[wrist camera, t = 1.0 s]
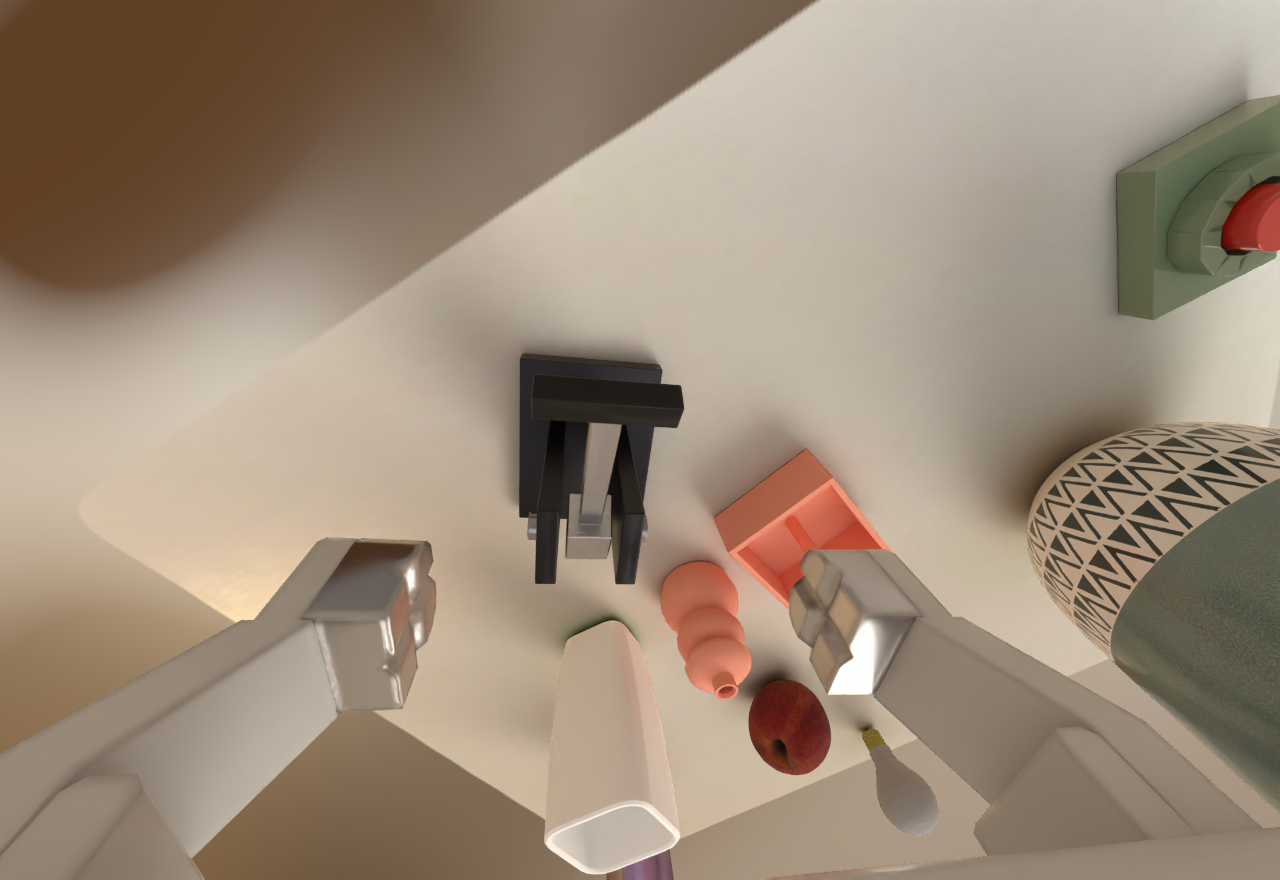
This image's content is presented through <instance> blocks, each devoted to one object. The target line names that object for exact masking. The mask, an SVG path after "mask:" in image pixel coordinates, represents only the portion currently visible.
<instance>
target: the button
mask: <svg viewBox="0 0 1280 880" xmlns="http://www.w3.org/2000/svg"><path fill="white" fill-rule="evenodd" d="M1221 244H1222V246H1223V247H1225V248H1226V249H1229V250H1237V251H1255V252H1274V251H1278V250H1280V182H1267V183H1263V184H1260V185H1257V186H1255V187H1253V188H1251V189H1250V190H1248V191H1247V192H1246V193H1245V194H1244V195H1243V196H1242V197H1241V198H1240V200H1239V201H1238V202H1237V203H1236V204H1235V205H1234V206H1233V208H1232V210H1231V212H1230V214H1229V215H1228V217H1227V219H1226V221H1225V223H1224V225H1223V227H1222V234H1221Z"/></svg>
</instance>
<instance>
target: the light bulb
mask: <svg viewBox="0 0 1280 880" xmlns="http://www.w3.org/2000/svg"><path fill="white" fill-rule="evenodd" d="M862 738H863V740H864V742H865V743H866V746H867V748H868V750H869V752H870V756H871V757H872V759H873V761H874V763H875V766H876V777H877V797H878V800H879V803H880V806H881V808H882V810H883V812H884V814H885V816H886V817H887V818H888V819H889V821H890V822H891V823H892V824H893V825H894V826H895V827H896V828H898V829H899V830H901V831H902V832H904V833H906V834H909V835H913V836H920V835H925V834H928V833H929V832H930V831H932V830H933V829H934V828H935V826H936V824H937V822H938V817H939V809H938V804H937V801H936V797H935V795H934V793H933V792H932V790H931V788H930V787H929V785H928V784H927V783H926V782H925V781H924V779H923V778H922V777H920V776H919V775H918V774H917V773H915V772H914V771H913V770H911V769H910V768H908V767H907V766H905V765H904V764H903V763H901V762H900V761H899V760H897V759H896V757H895V756H894V755H893V754H892V752H891V750H890V748H889V746H887V745H886V743H885V742H884V740H883V739H882V737H881V735H880V733H879V732H878V731H877V730H875V729H866V730H865V732H864V733H863V735H862Z"/></svg>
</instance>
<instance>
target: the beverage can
mask: <svg viewBox="0 0 1280 880" xmlns="http://www.w3.org/2000/svg"><path fill="white" fill-rule="evenodd" d="M607 880H674V879H673V872H672V865H671V857H670V850H669V849H668V850H666V851H664V852H661V853H659V854H656V855H654V856H651V857H649V858H646V859H643V860H641V861H638V862H636V863H633V864H631V865H628V866H625V867H623V868H620V869H618V870H615V871H612V872H608V873H607Z"/></svg>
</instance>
